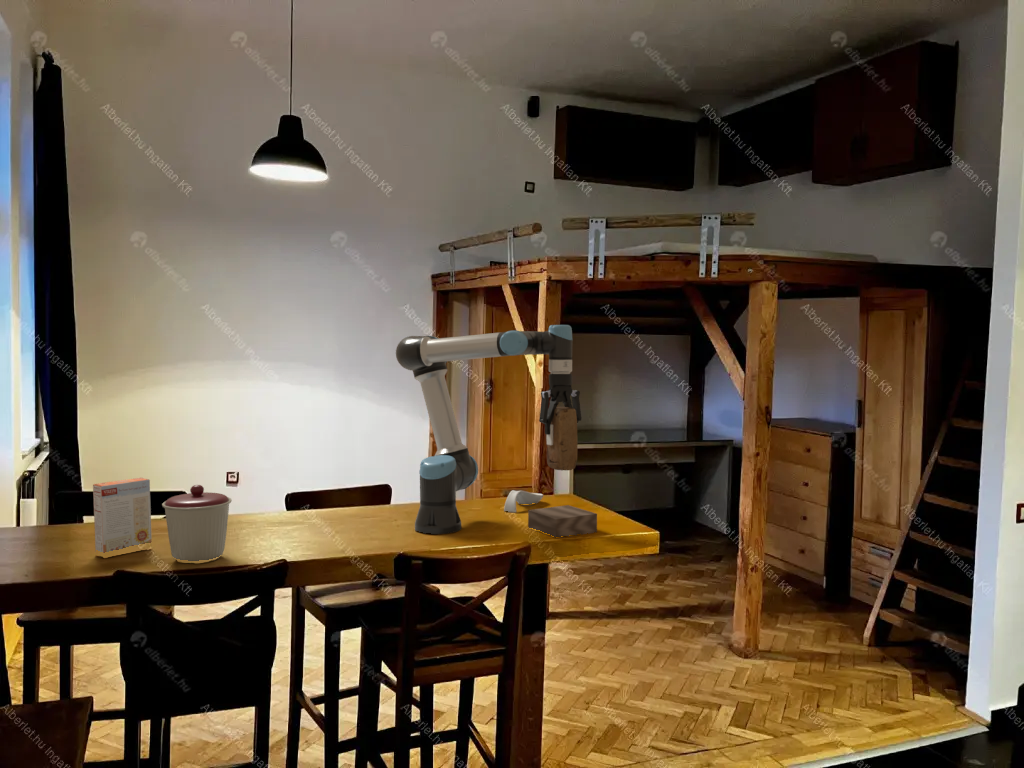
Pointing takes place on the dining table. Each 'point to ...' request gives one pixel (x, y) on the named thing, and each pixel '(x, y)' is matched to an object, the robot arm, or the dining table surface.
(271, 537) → the dining table surface
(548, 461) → the block
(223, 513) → the canister
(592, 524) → the base block
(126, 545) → the cracker box
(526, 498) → the spoon rest
